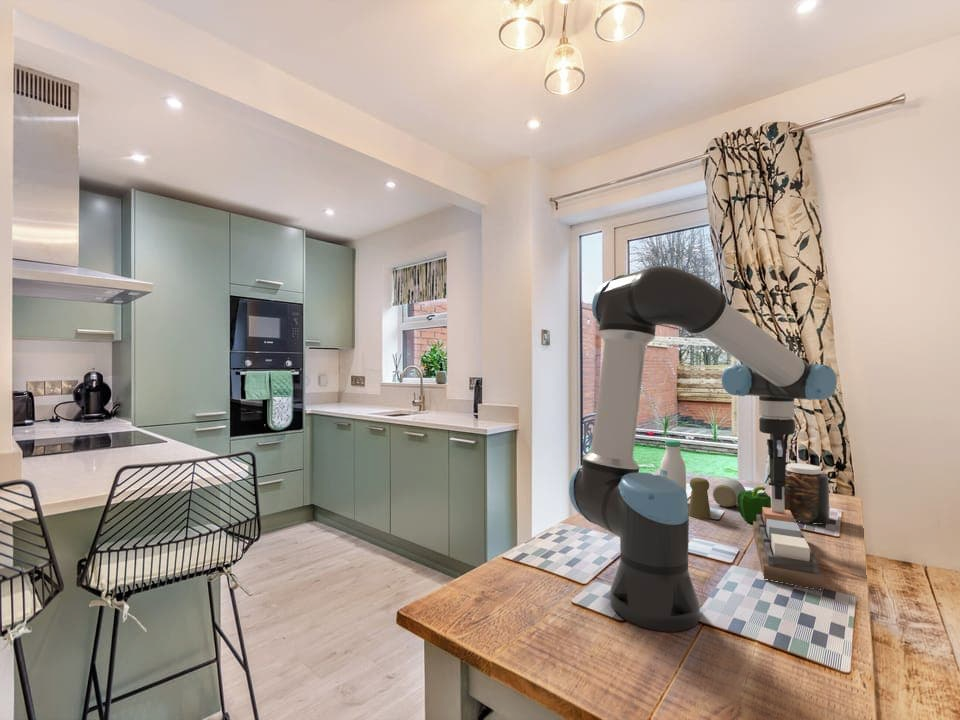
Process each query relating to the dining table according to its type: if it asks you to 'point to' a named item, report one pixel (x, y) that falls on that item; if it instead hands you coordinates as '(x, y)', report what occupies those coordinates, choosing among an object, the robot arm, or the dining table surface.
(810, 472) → the jar
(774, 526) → the slate block
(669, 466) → the milk bottle
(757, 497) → the bell pepper
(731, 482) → the ceramic mug
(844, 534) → the dining table surface
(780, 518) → the terracotta block
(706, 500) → the pepper mill
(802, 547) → the cream block
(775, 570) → the block tray
